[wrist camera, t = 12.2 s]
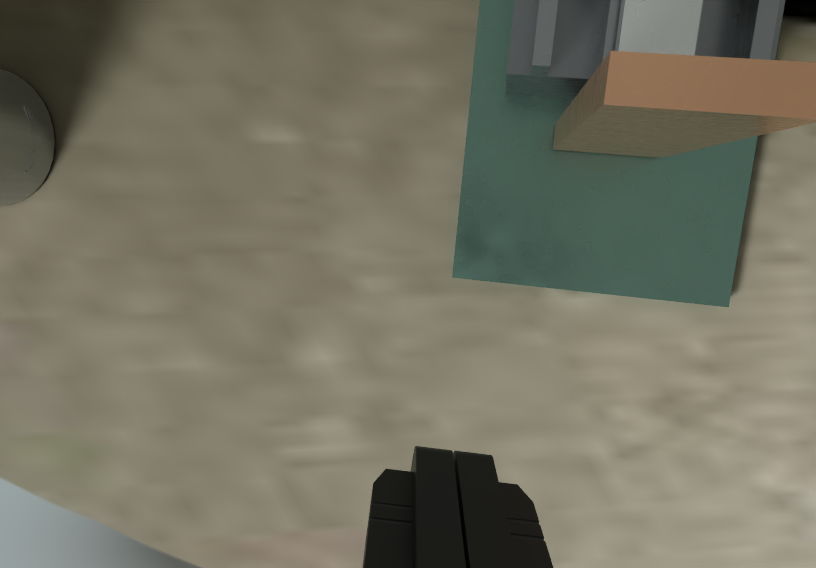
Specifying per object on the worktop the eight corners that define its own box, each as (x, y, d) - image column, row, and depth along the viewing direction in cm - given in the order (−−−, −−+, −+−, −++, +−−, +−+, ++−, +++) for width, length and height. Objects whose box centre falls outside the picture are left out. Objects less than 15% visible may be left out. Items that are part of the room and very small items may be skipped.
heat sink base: (453, 274, 39) (431, 313, 26) (503, -219, 35) (505, -455, 22) (721, 303, 37) (836, 359, 24) (809, -218, 33) (1004, -478, 20)
